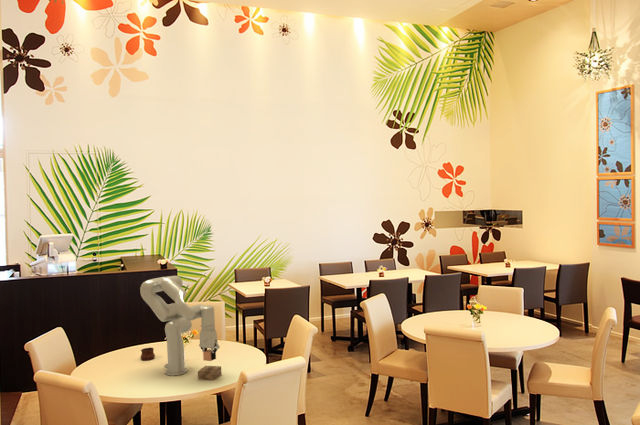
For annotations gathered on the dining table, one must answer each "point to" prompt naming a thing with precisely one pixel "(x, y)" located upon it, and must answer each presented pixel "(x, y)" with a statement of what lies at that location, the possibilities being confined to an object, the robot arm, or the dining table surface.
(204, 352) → the terracotta cube
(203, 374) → the block
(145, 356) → the brown pouch
